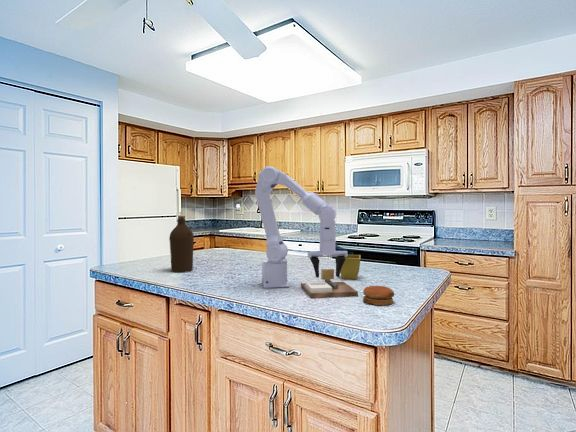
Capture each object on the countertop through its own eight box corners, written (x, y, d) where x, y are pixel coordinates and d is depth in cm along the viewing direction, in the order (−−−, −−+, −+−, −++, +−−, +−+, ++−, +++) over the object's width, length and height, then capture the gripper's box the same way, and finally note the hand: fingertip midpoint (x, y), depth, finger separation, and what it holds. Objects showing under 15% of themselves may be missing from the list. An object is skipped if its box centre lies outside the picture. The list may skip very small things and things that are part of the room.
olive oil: (196, 268, 169) (196, 215, 168) (189, 273, 158) (189, 216, 157) (174, 268, 169) (174, 215, 168) (166, 272, 158) (165, 216, 158)
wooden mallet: (330, 289, 121) (330, 274, 121) (320, 282, 131) (320, 269, 130) (342, 288, 122) (342, 273, 122) (332, 282, 132) (332, 268, 131)
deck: (310, 298, 115) (310, 293, 115) (301, 287, 130) (301, 283, 130) (357, 296, 118) (357, 291, 118) (343, 285, 133) (343, 281, 133)
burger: (386, 308, 105) (387, 292, 105) (357, 303, 110) (357, 288, 110) (398, 300, 113) (398, 286, 113) (370, 296, 118) (370, 282, 118)
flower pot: (360, 280, 142) (360, 258, 141) (338, 279, 143) (338, 257, 143) (360, 276, 150) (360, 254, 150) (339, 275, 152) (339, 254, 152)
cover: (311, 292, 116) (311, 287, 116) (304, 285, 126) (304, 280, 126) (332, 291, 117) (332, 286, 117) (324, 285, 127) (324, 279, 127)
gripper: (343, 238, 135) (343, 273, 135) (305, 238, 132) (305, 275, 133) (349, 240, 128) (349, 277, 128) (309, 240, 125) (309, 279, 126)
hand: (327, 276), depth 130 cm, fingers open, 7 cm apart
